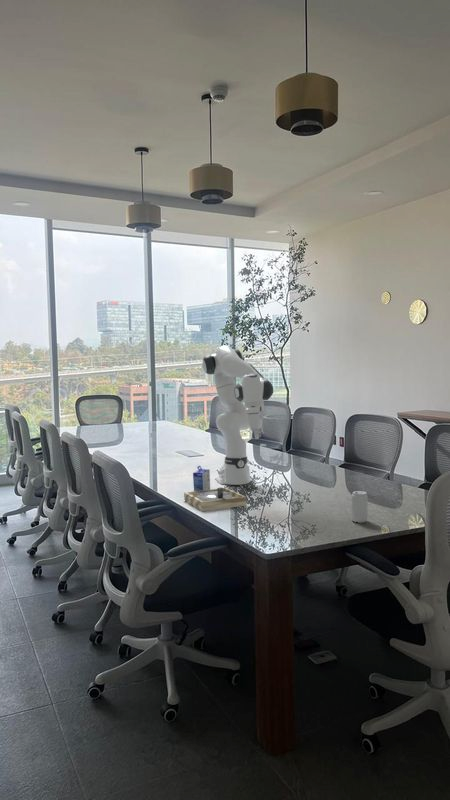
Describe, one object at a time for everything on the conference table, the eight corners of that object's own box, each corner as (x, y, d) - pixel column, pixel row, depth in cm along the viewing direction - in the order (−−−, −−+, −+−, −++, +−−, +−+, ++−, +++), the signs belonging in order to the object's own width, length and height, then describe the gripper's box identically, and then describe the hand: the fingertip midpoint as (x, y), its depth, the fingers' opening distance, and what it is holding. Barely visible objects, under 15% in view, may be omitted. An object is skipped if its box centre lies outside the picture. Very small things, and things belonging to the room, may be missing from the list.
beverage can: (349, 519, 244) (349, 490, 243) (364, 518, 244) (364, 490, 244) (354, 523, 238) (354, 494, 237) (369, 523, 238) (369, 493, 237)
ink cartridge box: (200, 492, 298) (200, 464, 297) (210, 493, 296) (210, 464, 295) (193, 497, 288) (192, 467, 287) (203, 497, 287) (203, 468, 286)
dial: (191, 496, 279) (191, 483, 279) (223, 492, 286) (223, 480, 286) (205, 504, 264) (204, 490, 264) (238, 499, 271) (238, 487, 271)
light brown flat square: (184, 500, 281) (184, 491, 280) (226, 495, 290) (226, 487, 290) (201, 511, 261) (201, 501, 261) (246, 505, 270) (246, 496, 270)
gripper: (250, 408, 284) (253, 436, 285) (245, 410, 264) (248, 441, 264) (263, 406, 283) (266, 435, 283) (259, 408, 263) (262, 439, 263)
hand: (258, 438), depth 274 cm, fingers open, 8 cm apart
